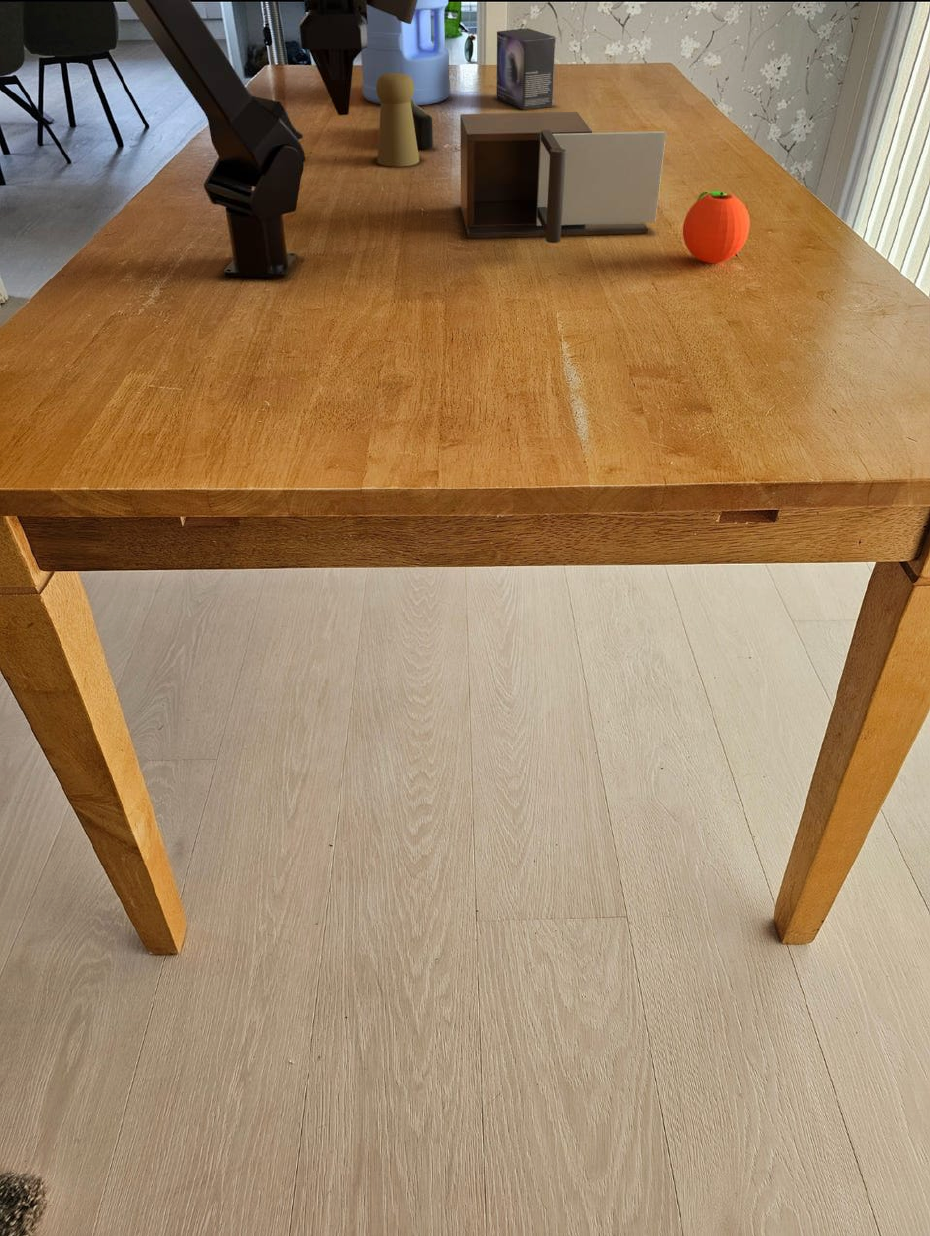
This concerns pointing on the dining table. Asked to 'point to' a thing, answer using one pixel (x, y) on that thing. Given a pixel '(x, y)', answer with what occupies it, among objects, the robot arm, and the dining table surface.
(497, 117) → the cabinet
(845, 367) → the dining table surface
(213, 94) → the robot arm
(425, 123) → the mobile phone
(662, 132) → the sliding door
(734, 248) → the clementine
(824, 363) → the dining table surface
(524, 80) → the small box
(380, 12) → the water jug
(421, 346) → the dining table surface
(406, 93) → the cork
